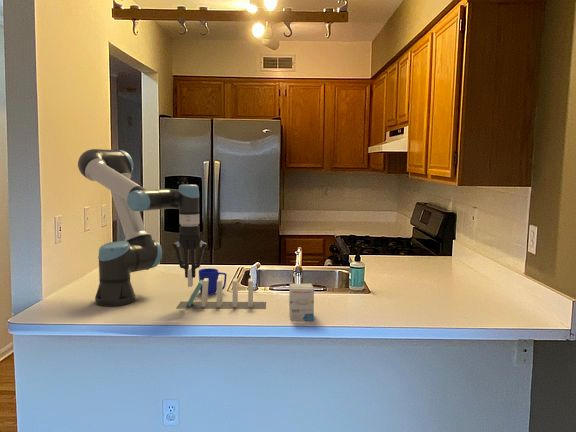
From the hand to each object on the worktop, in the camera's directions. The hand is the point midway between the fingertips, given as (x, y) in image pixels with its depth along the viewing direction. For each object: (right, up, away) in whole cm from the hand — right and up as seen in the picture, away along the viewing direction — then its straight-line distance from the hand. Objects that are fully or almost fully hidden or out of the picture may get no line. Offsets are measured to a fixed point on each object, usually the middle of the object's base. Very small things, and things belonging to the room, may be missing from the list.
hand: (190, 285), depth 199 cm
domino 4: (+23, -8, +2) cm, 24 cm away
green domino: (-1, -7, +1) cm, 7 cm away
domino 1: (+5, -8, +1) cm, 9 cm away
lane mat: (+12, -8, +1) cm, 15 cm away
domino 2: (+11, -8, +1) cm, 14 cm away
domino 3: (+17, -8, +1) cm, 19 cm away
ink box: (+42, -10, -12) cm, 45 cm away
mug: (+6, -6, +20) cm, 22 cm away
